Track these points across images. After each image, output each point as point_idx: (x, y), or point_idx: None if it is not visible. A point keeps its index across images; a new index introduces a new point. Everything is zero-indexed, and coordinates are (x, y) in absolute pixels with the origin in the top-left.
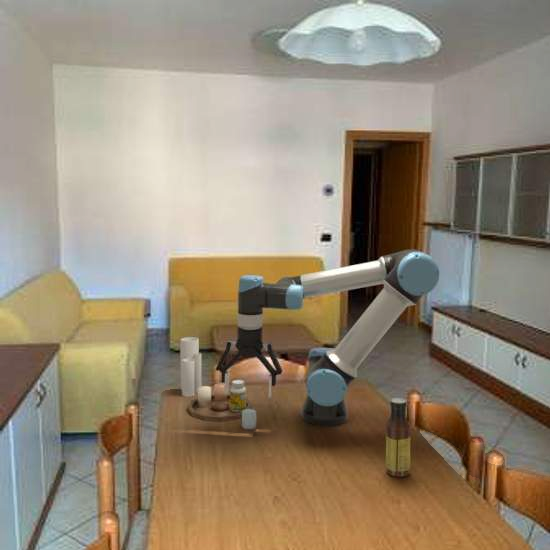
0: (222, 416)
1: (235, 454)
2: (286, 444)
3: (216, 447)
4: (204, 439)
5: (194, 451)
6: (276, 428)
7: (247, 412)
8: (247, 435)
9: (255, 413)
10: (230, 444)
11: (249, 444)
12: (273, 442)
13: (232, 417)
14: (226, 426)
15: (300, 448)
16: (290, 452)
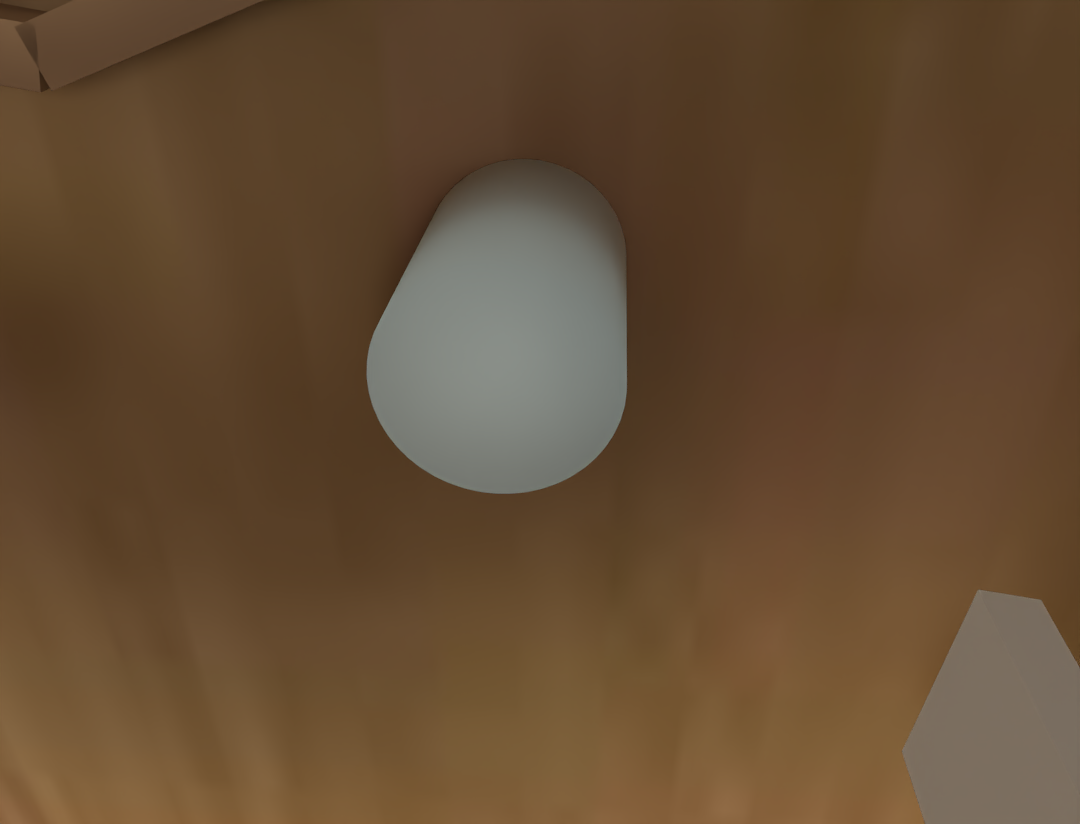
0: (46, 42)
1: (405, 781)
2: (947, 643)
3: (200, 659)
4: (20, 493)
5: (15, 713)
6: (935, 216)
7: (465, 425)
8: None
9: (608, 436)
10: (330, 611)
11: (534, 622)
12: (808, 595)
13: (222, 17)
14: (189, 127)
15: None
16: None
